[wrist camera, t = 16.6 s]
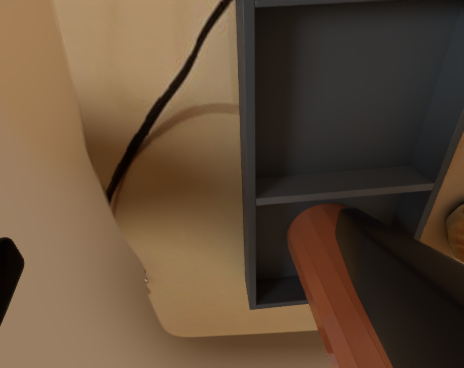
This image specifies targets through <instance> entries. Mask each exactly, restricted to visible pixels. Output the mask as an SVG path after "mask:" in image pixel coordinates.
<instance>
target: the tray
mask: <svg viewBox="0 0 464 368" xmlns="http://www.w3.org/2000/svg"><path fill="white" fill-rule="evenodd" d="M236 21H237V51H238V80H239V109H240V138H241V167H242V197H243V226H244V255H245V281H246V288H247V294H248V301H249V307H250V310H254V309H263V308H272V307H282V306H291V305H301V304H309V303H308V300H307V298H306V295H305V292H304V289H303V286H302V284H301V281H300V278H299V275H298V273H297V270H296V267H295V264H294V262H293V259H292V256H291V253H290V250H289V248H288V244H287V231H288V228H289V226H290V224H291V223H292V221H293V220H294V219H295V218H296V217H297V216H298V215H299V214H300V213H302V212H303V211H305V210H306V209H308V208H310V207H312V206H315V205H319V204H323V203H338V204H342V205H344V206H347V207H348V208H357V209H359V210H361V211H363V212H365V213H367V214H369V215H371V216H373V217H374V218H376V219H378V220H380V221H382V222H384V223H386V224H388V225H390V226H392V227H393V228H395V229H397V230H399V231H401V232H403V233H405V234H407V235H409V236H411V237H412V238H414V239H416V240H418V241H419V240H420V237H421V235H422V232H423V230H424V227H425V225H426V222H427V220H428V217H429V215H430V212H431V210H432V207H433V205H434V203H435V200H436V198H437V195H438V193H439V190H440V188H441V185H442V183H443V180H444V178H445V175H446V173H447V170H448V168H449V165H450V163H451V160H452V158H453V155H454V153H455V151H456V148H457V146H458V143H459V141H460V138H461V136H462V133H463V131H464V0H236Z"/></svg>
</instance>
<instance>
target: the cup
mask: <svg viewBox="0 0 464 368" xmlns="http://www.w3.org/2000/svg"><path fill="white" fill-rule="evenodd" d="M343 208H348V207H347V206H344V205H342V204H338V203H323V204H319V205H315V206H312V207H310V208H308V209H306V210H305V211H303V212H302V213H300V214H299V215H298V216H297V217H296V218H295V219H294V220H293V221H292V223H291V224H290V226H289V228H288V231H287V244H288V248H289V250H290V253H291V256H292V259H293V262H294V264H295V267H296V270H297V273H298V275H299V278H300V281H301V284H302V286H303V289H304V292H305V295H306V298H307V300H308V303H309V306H310V309H311V311H312V314H313V317H314V320H315V323H316V325H317V328H318V331H319V334H320V336H321V339H322V342H323V345H324V347H325V350H326V353H327V356H328V358H329V361H330V364H331V367H332V368H393V367H392V365H391V363H390V361H389V359H388V357H387V355H386V353H385V351H384V349H383V347H382V345H381V343H380V341H379V339H378V337H377V334H376V332H375V330H374V328H373V326H372V324H371V322H370V320H369V318H368V316H367V314H366V312H365V310H364V308H363V306H362V304H361V302H360V300H359V298H358V296H357V294H356V291H355V289H354V287H353V285H352V282H351V279H350V277H349V274H348V271H347V268H346V266H345V263H344V260H343V257H342V255H341V252H340V249H339V246H338V243H337V241H336V237H335V229H336V224H337V218H338V213H339V211H340V210H341V209H343Z"/></svg>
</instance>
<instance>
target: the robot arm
mask: <svg viewBox="0 0 464 368" xmlns="http://www.w3.org/2000/svg"><path fill="white" fill-rule="evenodd" d="M335 237H336V241H337V243H338V246H339V249H340V252H341V255H342V257H343V260H344V263H345V266H346V268H347V271H348V274H349V277H350V279H351V282H352V285H353V287H354V289H355V291H356V294H357V296H358V298H359V300H360V302H361V304H362V306H363V308H364V310H365V312H366V314H367V316H368V318H369V320H370V322H371V324H372V326H373V328H374V330H375V332H376V334H377V337H378V339H379V341H380V343H381V345H382V347H383V349H384V351H385V353H386V355H387V357H388V359H389V361H390V363H391V365H392V367H393V368H464V264H462V263H460V262H458V261H456V260H454V259H452V258H450V257H448V256H447V255H445V254H443V253H441V252H439V251H437V250H435V249H433V248H431V247H430V246H428V245H426V244H424V243H422V242H420V241H418V240H416V239H414V238H412V237H411V236H409V235H407V234H405V233H403V232H401V231H399V230H397V229H395V228H393V227H392V226H390V225H388V224H386V223H384V222H382V221H380V220H378V219H376V218H374V217H373V216H371V215H369V214H367V213H365V212H363V211H361V210H359V209H357V208H343V209H341V210H340V211H339V213H338V218H337V224H336V229H335ZM23 268H24V259H23V257H22V255H21V254H20V252H19V250H18V249H17V247H16V245H15V244H14V242H13V241H12V240H11V239H10V238H7V237H4V238H0V325H1V323H2V321H3V318H4V316H5V314H6V311H7V309H8V307H9V304H10V301H11V299H12V296H13V294H14V291H15V289H16V286H17V284H18V281H19V279H20V276H21V274H22V271H23Z"/></svg>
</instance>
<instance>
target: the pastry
mask: <svg viewBox="0 0 464 368" xmlns="http://www.w3.org/2000/svg"><path fill="white" fill-rule="evenodd" d="M446 228H447V231H448V236H447V238H448V244H449V245H450V246H451V248H452V250H453V253H454V255H455V257H456V258H458V259H460V260H461V261H463V262H464V204H462V205H461V206H459V207H458V208H457V209H456V210H455V211H454V212H453V213H452V214H451V215H450V216H449V217H448V218H447V219H446Z"/></svg>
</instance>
